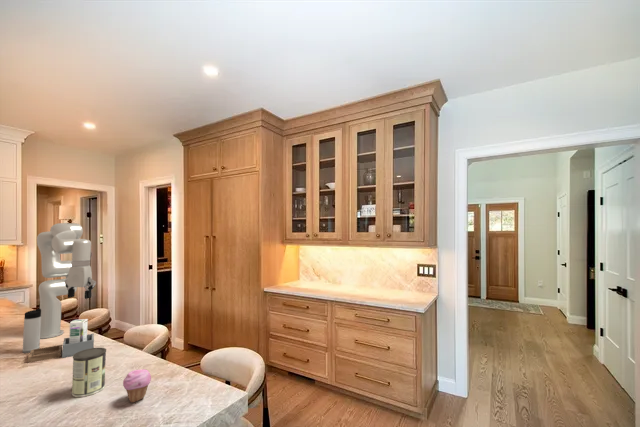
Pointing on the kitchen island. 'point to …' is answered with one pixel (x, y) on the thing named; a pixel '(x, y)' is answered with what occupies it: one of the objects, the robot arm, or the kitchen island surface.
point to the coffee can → (88, 372)
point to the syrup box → (78, 331)
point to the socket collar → (45, 356)
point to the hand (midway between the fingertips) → (79, 297)
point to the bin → (77, 346)
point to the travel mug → (31, 330)
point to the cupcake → (137, 384)
